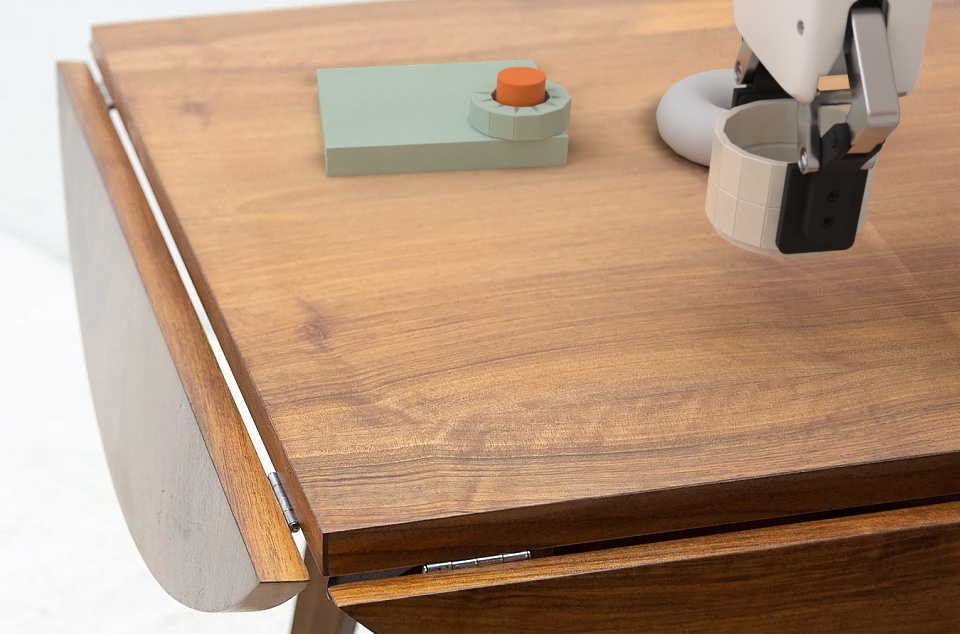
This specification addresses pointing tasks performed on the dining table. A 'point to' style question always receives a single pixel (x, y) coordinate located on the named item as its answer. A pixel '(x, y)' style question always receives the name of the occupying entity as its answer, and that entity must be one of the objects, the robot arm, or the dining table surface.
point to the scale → (435, 120)
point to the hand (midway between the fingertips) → (785, 203)
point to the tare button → (520, 87)
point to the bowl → (760, 172)
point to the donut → (695, 112)
